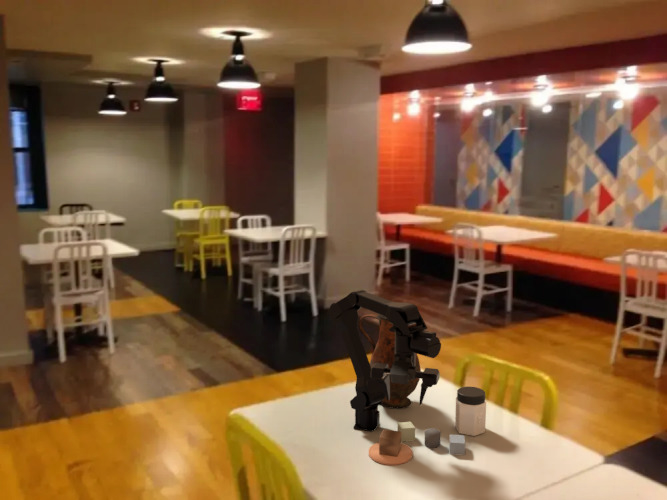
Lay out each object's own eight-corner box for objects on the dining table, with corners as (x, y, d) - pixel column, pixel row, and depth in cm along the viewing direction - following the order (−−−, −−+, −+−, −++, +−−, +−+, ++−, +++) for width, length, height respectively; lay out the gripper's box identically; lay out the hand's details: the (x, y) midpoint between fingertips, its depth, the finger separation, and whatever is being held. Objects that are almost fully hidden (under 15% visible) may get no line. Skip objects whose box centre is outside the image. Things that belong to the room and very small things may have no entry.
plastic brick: (449, 454, 172) (450, 442, 172) (449, 445, 177) (449, 434, 176) (464, 455, 171) (465, 443, 171) (463, 446, 176) (464, 435, 176)
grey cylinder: (423, 447, 176) (423, 434, 175) (425, 440, 180) (426, 427, 179) (439, 449, 175) (439, 436, 174) (441, 442, 179) (441, 429, 178)
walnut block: (379, 454, 170) (379, 437, 170) (383, 446, 175) (383, 429, 174) (397, 457, 169) (397, 439, 168) (401, 448, 173) (401, 431, 173)
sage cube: (401, 441, 179) (401, 428, 179) (397, 435, 183) (397, 422, 183) (414, 440, 180) (415, 427, 180) (410, 434, 184) (410, 421, 183)
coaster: (363, 461, 168) (363, 458, 168) (374, 441, 180) (374, 438, 179) (407, 468, 165) (407, 465, 164) (416, 447, 176) (416, 444, 176)
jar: (469, 438, 181) (470, 399, 179) (449, 428, 188) (450, 390, 186) (490, 431, 186) (492, 392, 184) (470, 421, 192) (472, 384, 190)
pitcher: (411, 416, 196) (413, 323, 191) (349, 405, 205) (349, 316, 200) (426, 397, 211) (428, 310, 206) (367, 388, 219) (367, 304, 215)
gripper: (364, 355, 170) (364, 409, 172) (433, 362, 164) (432, 418, 166) (375, 342, 180) (375, 394, 183) (440, 349, 174) (439, 402, 177)
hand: (404, 402), depth 177 cm, fingers open, 9 cm apart
